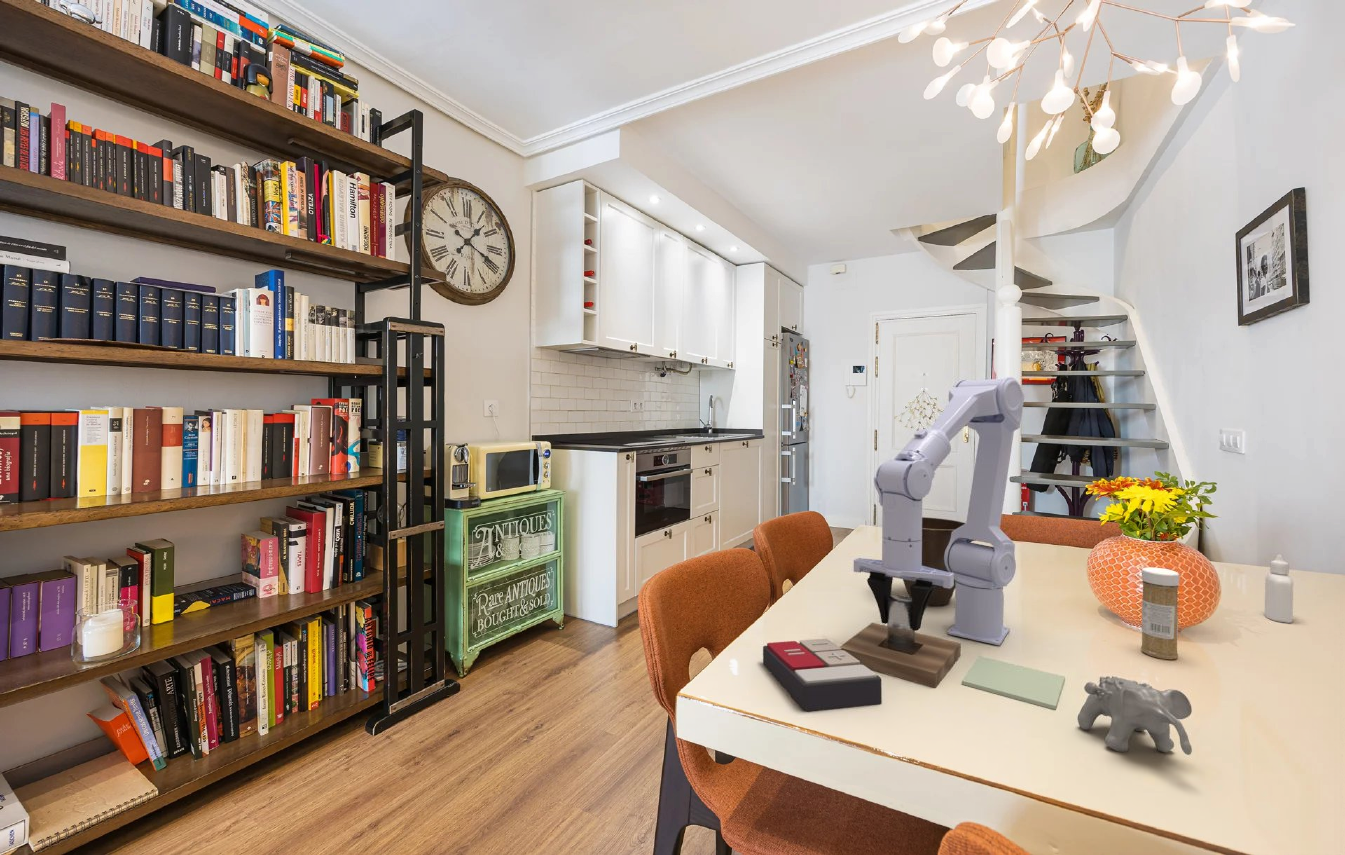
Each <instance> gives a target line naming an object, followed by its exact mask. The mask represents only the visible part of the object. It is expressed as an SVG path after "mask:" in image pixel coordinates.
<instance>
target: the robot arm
mask: <svg viewBox="0 0 1345 855" xmlns="http://www.w3.org/2000/svg"><path fill="white" fill-rule="evenodd" d="M1024 403H1025V394H1024V392H1023V390H1022V387H1021V385H1020V383H1019V382H1018V381H1017V379H1016V378H1014V377H1011V376H1010V377H1004V378H994V379H993V378H992V379H990V378H989V379H988V378H987V379H975V380H974V379H972V380H966V379H961V380H958V381H956V382H955V383H954V385H953V386H952V388H950V389H949V390H948V403H947V405H946V406H945V408H943V410H942V412H941V413H940V414H939V416H938V417H937V419H936V420H935V421H934V423H933V424H932V426H931V427H930V428H929V427H926V428H922V429H917V430H916V431H915V433H914V434H913V435H914V436H913V437H912V438H911V440H909V441H908V443H906V445H905V446H904V447H903V448H902V450H900V452H899V453H898V454H897V455H896V456H895V457H894V459H887V460H886V461H884V462H883V463H882V464H880V465H879V466H878V468H877V470H876V473H875V476H874V477H873V483H874V487H875V489H876V492H877V493H878V503H879V505H880V506H881V507H882V511H881V512H882V514H881V515H882V517H881V521H882V522H881V523H882V524H881V525H882V527H881V533H882V534H881V537H882V538H881V540H882V541H881V559H874V558H873V559H872V558H865V557H863V558H862V557H857V558H855V559H853V572H854V573H866V574H869V577H868V578H867V579H866V580H867V581H866V582H867V585H868V587H869V588H870V590H871V592H872V594H873V597H874V599H875V602H876V604H877V608H878V611H879V616H880V622H881V623H882V624H883V625H887V599H888V596H892V586H893V582H894V579H899V580H903V579H905V580H911V581H916V583H915V584H913V585H911V586H910V590H911V597H912V630H914V631H915V632H917V631H919V630H920V629H921V628H922V621H923V618H924V614H925V610H926V609H927V606H928V605H927V603H928V601H929V599H930V597H931V595H932V593H933V591H934V590H935V588H936V586H937V585H939V586H943V587H944V588H949V589H950V588H952V587H953V586H954V580H955V590H954V593H955V594H954V604H955V605H954V624H953V625H952V626H951V627H950V628H949V629H948V630H947V634H948V635H952V636H956V637H961V638H965V639H969V640H973V641H978V642H982V643H985V644H986V643H987V644H991V645H995V646H1000V645H1001V644H1002V642H1003V641H1004V639H1005V638H1006V637H1007V635H1008V633H1009V632H1010V630H1011V629H1010V627H1009V626H1006V625H1004V613H1005V612H1004V611H1005V610H1004V604H1005V603H1004V602H1005V600H1004V598H1005V597H1004V596H1005V594H1004V591H1003V589H1004V587H1007V586H1008V585H1009V584H1010V583H1011V582H1012V580H1013V579H1014V577H1015V574H1016V568H1017V564H1016V563H1017V562H1016V557H1015V549H1016V548H1015V547H1016V544H1015V542H1014V541H1013V540H1012V539H1010V537H1009V536H1008V535H1007V534H1006V533H1005V532H1004V531H1003V530H1001V522H1002V516H1003V510H1004V502H1005V495H1006V488H1007V481H1008V475H1009V468H1010V462H1011V453H1012V448H1013V441H1014V434H1015V431H1017V430H1019V429H1020V428H1021V421H1022V417H1023V409H1024ZM966 426H967V427H968V428H970V429H971V430H974V431H975V432H976V433H977V434H978V444H977V449H976V458H975V464H974V469H973V476H972V477H973V478H972V483H971V490H970V496H969V502H968V510H967V515H966V516H967V517H966V522H964V523H965V524H964V525H962V526H961V527H959V528H957V529H956V530H954V531H953V532H952V534H951V539H950V542H949V544H948V546H947V548H946V550H945V554H944V562H945V566H946V568H947V570H948V571H949V572H945V571H941V570H937V569H933V568H929V567H925V566H922V517H923V499H924V498H925V497H927V495H928V494H930V491H931V489H932V488H931V487H932V483H933V479H934V478H935V475H936V473H935V472H936V470H937V469H938V468H939V467H940V465H941V464H942V463H943V462H944V460H946V458H947V457H948V456H949V454H950V453H951V450H952V447H951V443H950V441H951V440H952V439H954V438H955V436H956V435H958V434H959V433H960V432H961V431H962V429H964V428H965V427H966ZM975 542H982V543H986V544H990V545H986V544H985V545H984V544H981V543H980V544H979V543H975Z"/></svg>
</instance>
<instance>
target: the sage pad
mask: <svg viewBox="0 0 1345 855" xmlns="http://www.w3.org/2000/svg"><path fill="white" fill-rule="evenodd" d="M1065 682H1066V676H1064V675H1060V674H1056V673H1051V672H1048V671H1045V670H1044V671H1043V670H1040V669H1036V668H1035V669H1034V668H1031V667H1027V666H1023V665H1019V664H1015V663H1012V662H1011V663H1010V662H1005V661H1003V660H998V659H994V658H989V657H986V656H981V655H978V657H977V658H976V659H975V661H974V662H973V664H971V667H970V668H969V669H968V671H967V672H966V673H965V675H964V677H963V678H962V680H961V685H963V686H967V687H970V688H974V689H977V690H981V691H985V692H989V693H992V694H996V695H1000V696H1003V697H1006V698H1010V699H1014V700H1018V701H1021V702H1025V703H1029V704H1033V705H1036V706H1040V707H1042V708H1043V707H1044V708H1047V709H1050V710H1055V711H1056V710H1057V707H1058V703H1059V701H1060V700H1059V699H1060V697H1061V694H1062V690H1063V688H1064V686H1065V685H1064V684H1065Z"/></svg>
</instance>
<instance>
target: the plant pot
mask: <svg viewBox="0 0 1345 855" xmlns="http://www.w3.org/2000/svg"><path fill="white" fill-rule="evenodd" d="M965 523H966V522H962V521H959V520H953V519H945V518H937V517H925V516H924V517H923V516H922V566H925V567H929V568H933V569H937V570H941V571H945V572H949V571H948V570H947V568H946V566H945V562H944V554H945V550H946V548H947V546H948V544H949V542H950V539H951V534H952V532H953V531H954V530H956V529H957V528H959V527H961V526H962V525H964V524H965ZM902 582H903V584H904V587H905V590H906V593H907V597H910V598H912V597H911V590H910V586H911V585H913V584H915V583H916V581H911V580H905V579H902ZM954 593H955V580H954V586H953V587H952V588H950V589H949V588H944V587H943V586H939V585H937V586H936V588H935V590H934V591H933V593H932V595H931V597H930V599H929V601H928V603H927V606H932V607H939V606H940V607H941V606H947V605H948V604H950V601H951V599H952V597H953V595H954Z"/></svg>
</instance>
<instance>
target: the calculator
mask: <svg viewBox="0 0 1345 855" xmlns="http://www.w3.org/2000/svg"><path fill="white" fill-rule="evenodd" d="M762 663H763V664H762V665H763V666H764V665H765V666H764V667H765V668H766V669H767V671H768V672H769V673H770V672H771V673H770V674H771V675H772V676H773V677H774V678H775V679H776V681H778V683H780V684H781V686H782V687H783V688H784V689H785V690H786V691H787V693H789V694H790V697H791V698H792V700H793V701H794V702H795V703H796V704H797V705H798V707H799V708H800V709H801V710H802V711H803V712H805V713H813V712H821V711H831V710H833V711H834V710H840V709H849V708H850V709H851V708H852V709H853V708H860V707H869V706H879V705H880V706H881V705H882V704H883V703H882V702H883V699H882V693H883V692H882V691H883V690H882V688H883V687H882V677H880V676H879V675H878V674H877V673H875V671H874V670H871V669H868V668H867V667H866V666H864V665H862V664H861V663H860V661H859V660H857V659H856V658H855V657H853V656H852V655H850V654H849V653H847V652H846V651H844V650H841V648H840V646H838V645H837V644H836V643H834V641H831V640H830V639H828V638H817V639H815V638H814V639H804V640H803V639H802V640H799V642H797V641H795V640H791V641H790V640H789V641H776V642H767V643H766V645H763V646H762Z"/></svg>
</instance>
